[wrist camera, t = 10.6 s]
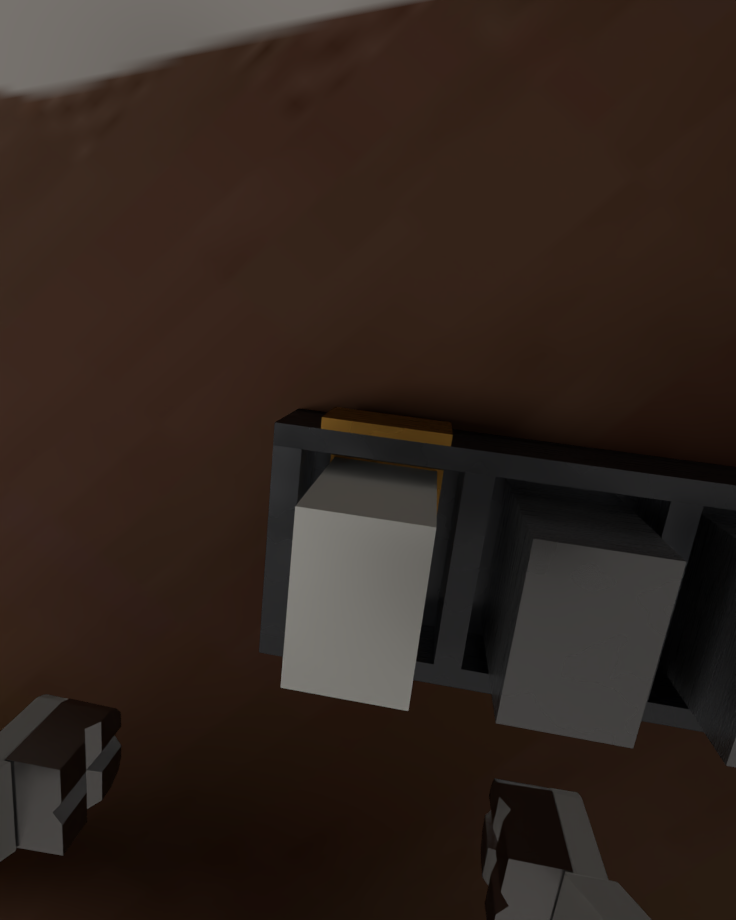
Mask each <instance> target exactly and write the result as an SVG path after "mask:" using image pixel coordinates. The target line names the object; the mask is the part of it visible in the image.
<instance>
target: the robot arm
mask: <svg viewBox="0 0 736 920" xmlns="http://www.w3.org/2000/svg"><path fill="white" fill-rule="evenodd" d="M120 727H121V712H120V711H119V710H117V709H116V708H111V707H107V706H102V705H97V704H93V703H88V702H83V701H79V700H74V699H66V698H61V697H57V696H53V695H48V694H45V695H42V696H39V697H37V698H36V699H35V700H34V701H33V702H32V703H31V704H30V705H28V706H27V707H26V708H25V709H24V710H23V711H22V712H21V713H20V714H19V715H18V716H17V717H15V718H14V719H13V720H12V721H11V722H10V723H9V724H8V725H7V726H6V727H5V728H4V729H3V730H1V731H0V861H2V860H3V859H5V858H6V857H8V856H9V855H10V854H12V853H13V852H15V851H16V848H22V849H28V850H33V851H39V852H45V853H50V854H56V855H62V856H63V855H64V854H65V852H66V851H67V849H68V848H69V847H70V845H71V844H72V842H73V841H74V840H75V838H76V837H77V835H78V834H79V832H80V831H81V830H82V828H83V827H84V825H85V824H86V823H87V809H88V808H90V807H91V806H93V805H95V804H97V803H98V802H100V801H102V800H103V798H104V797H105V795H106V794H107V792H108V791H109V789H110V788H111V786H112V784H113V781H114V779H115V777H116V774H117V772H118V770H119V765H120V760H121V745H120V743H119V742H118V740H117V739H116V737H115V736H114V735H115V734H116V732H117V731H118V730H119V729H120ZM489 799H490V808H491V811H490V812H489V813H487V814H486V815H485V818H484V823H483V829H482V840H481V866H482V877H483V878H484V880H485V881H486V883H487V884H488V890H487V895H486V900H485V911H486V920H651V919H650V917H649V916H648V915H647V914H646V913H645V912H644V911H643V910H642V909H641V907H640V906H639V905H638V904H637V903H636V902H635V901H634V900H633V899H632V898H631V896H630V895H629V894H628V893H627V892H626V891H625V890H624V889H623V888H622V887H621V885H620V884H619V883H618V882H614V881H610V880H608V877H607V874H606V871H605V868H604V865H603V862H602V859H601V855H600V852H599V849H598V846H597V843H596V840H595V837H594V834H593V831H592V828H591V825H590V822H589V819H588V816H587V813H586V809H585V806H584V803H583V800H582V797H581V796H580V795H579V794H578V793H577V792H571V791H565V790H559V789H553V788H549V789H548V788H546V787H540V786H534V785H529V784H523V783H517V782H512V781H506V780H500V779H495V778H494V780H493V782H492V785H491V789H490V794H489Z"/></svg>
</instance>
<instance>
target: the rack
mask: <svg viewBox="0 0 736 920" xmlns="http://www.w3.org/2000/svg"><path fill="white" fill-rule="evenodd" d="M334 457H340V458H347V459H354V460H361V461H368V462H375V463H382V464H389V465H396V466H404V467H411V468H418V469H425V470H432V471H437V525H436V534H435V540H434V547H433V553H432V560H431V566H430V573H429V579H428V586H427V592H426V599H425V605H424V612H423V619H422V625H421V632H420V638H419V645H418V651H417V658H416V664H415V671H414V677H413V680H416V681H422V682H427V683H433V684H438V685H444V686H450V687H455V688H461V689H466V690H472V691H477V692H483V693H489V694H492V700H493V707H494V714H495V721H496V723H498V724H503V725H509V726H514V727H519V728H525V729H530V730H536V731H541V732H547V733H552V734H557V735H563V736H568V737H574V738H579V739H585V740H590V741H595V742H601V743H606V744H612V745H617V746H623V747H628V748H633V747H634V744H635V740H636V737H637V733H638V730H639V726H640V723H641V721H645V722H650V723H656V724H662V725H667V726H673V727H678V728H684V729H689V730H695V731H701V732H704V733H705V734H706V736H707V737H708V739H709V740H710V742H711V743H712V745H713V746H714V748H715V749H716V751H717V752H718V754H719V756H720V757H721V759H722V760H723V762H724V763H725V765H726V766H731V767H736V467H731V466H723V465H716V464H708V463H701V462H693V461H686V460H678V459H671V458H663V457H656V456H648V455H641V454H633V453H626V452H618V451H611V450H604V449H596V448H589V447H581V446H574V445H566V444H559V443H551V442H544V441H536V440H529V439H521V438H514V437H506V436H499V435H491V434H484V433H476V432H469V431H462V430H454V429H452V425H451V422H445V421H438V420H430V419H423V418H415V417H408V416H400V415H393V414H385V413H377V412H370V411H362V410H355V409H347V408H340V407H334V408H333V409H332V410H330V411H329V412H328V413H327V412H320V411H312V410H305V409H297V410H295V411H294V412H292V413H290V414H289V415H287V416H285V417H283V418H282V419H280V420H278V421H277V422H275V429H274V443H273V458H272V472H271V487H270V501H269V516H268V530H267V545H266V559H265V573H264V588H263V602H262V617H261V631H260V646H259V652H260V653H266V654H271V655H277V656H282V657H283V651H284V639H285V626H286V614H287V602H288V590H289V577H290V565H291V553H292V540H293V528H294V516H295V506H296V505H297V503H298V502H299V501H300V500H301V498H302V497H303V496H304V495H305V493H306V492H307V491H308V490H309V488H310V487H311V486H312V485H313V483H314V482H315V481H316V480H317V478H318V477H319V476H320V475H321V473H322V472H323V471H324V470H325V468H326V467H327V466H328V465H329V463H330V462H331V461H332V460H333V458H334Z"/></svg>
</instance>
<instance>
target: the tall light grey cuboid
mask: <svg viewBox="0 0 736 920" xmlns="http://www.w3.org/2000/svg"><path fill="white" fill-rule="evenodd" d="M436 525H437V471H432V470H425V469H418V468H411V467H404V466H396V465H389V464H382V463H375V462H368V461H361V460H354V459H347V458H340V457H334V458H333V460H332V461H331V462H330V463H329V465H328V466H327V467H326V468H325V470H324V471H323V472H322V473H321V475H320V476H319V477H318V478H317V480H316V481H315V482H314V483H313V485H312V486H311V487H310V488H309V490H308V491H307V492H306V493H305V495H304V496H303V497H302V498H301V500H300V501H299V502H298V503H297V505H296V506H295V516H294V528H293V540H292V553H291V565H290V577H289V590H288V602H287V614H286V626H285V639H284V651H283V663H282V676H281V688H285V689H291V690H296V691H302V692H307V693H313V694H318V695H323V696H329V697H334V698H340V699H345V700H351V701H356V702H361V703H367V704H372V705H378V706H383V707H389V708H394V709H399V710H405V711H408V710H409V703H410V697H411V690H412V684H413V677H414V671H415V664H416V658H417V651H418V645H419V638H420V632H421V625H422V619H423V612H424V605H425V599H426V592H427V586H428V579H429V573H430V566H431V560H432V553H433V547H434V540H435V534H436Z"/></svg>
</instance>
